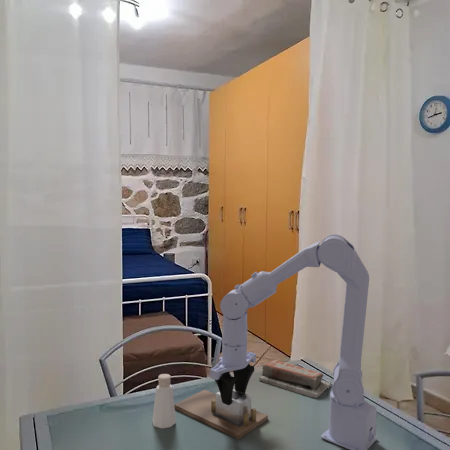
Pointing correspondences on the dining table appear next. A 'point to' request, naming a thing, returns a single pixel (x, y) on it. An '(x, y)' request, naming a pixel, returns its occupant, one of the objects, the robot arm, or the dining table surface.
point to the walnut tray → (206, 412)
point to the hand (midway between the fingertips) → (233, 399)
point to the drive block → (234, 406)
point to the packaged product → (294, 378)
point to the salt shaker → (164, 403)
